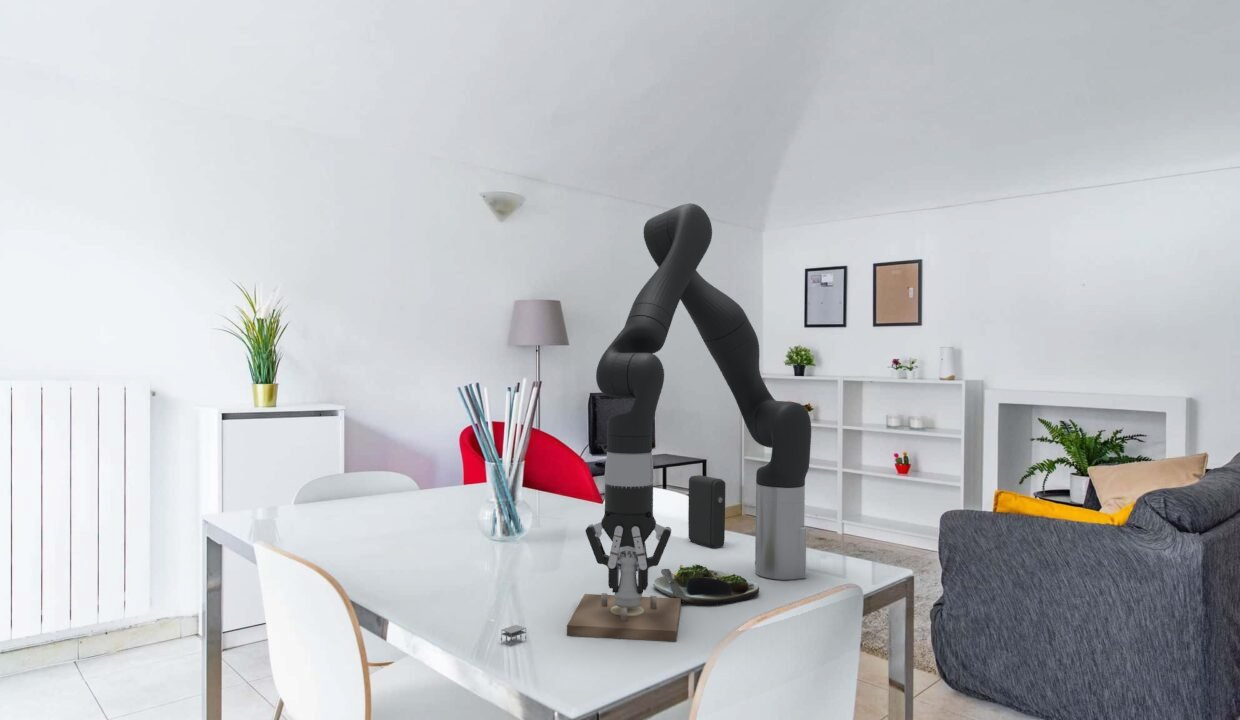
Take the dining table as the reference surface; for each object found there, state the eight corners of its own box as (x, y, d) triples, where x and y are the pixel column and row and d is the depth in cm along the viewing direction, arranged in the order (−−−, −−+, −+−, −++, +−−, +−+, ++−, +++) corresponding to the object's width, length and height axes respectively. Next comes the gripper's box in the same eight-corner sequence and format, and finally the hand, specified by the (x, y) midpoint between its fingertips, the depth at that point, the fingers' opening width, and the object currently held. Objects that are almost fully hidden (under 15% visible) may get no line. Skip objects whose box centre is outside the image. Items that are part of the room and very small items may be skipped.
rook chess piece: (621, 610, 118) (622, 557, 118) (608, 602, 122) (609, 551, 122) (647, 606, 120) (648, 554, 120) (633, 598, 124) (634, 548, 124)
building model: (500, 643, 110) (500, 629, 110) (516, 638, 113) (516, 624, 113) (510, 647, 109) (511, 633, 109) (526, 642, 111) (526, 627, 111)
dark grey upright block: (727, 547, 171) (728, 479, 171) (713, 549, 169) (714, 480, 169) (700, 539, 179) (701, 474, 179) (686, 541, 176) (687, 475, 177)
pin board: (680, 607, 128) (680, 587, 128) (676, 641, 112) (676, 618, 112) (584, 602, 130) (584, 582, 130) (566, 635, 114) (567, 612, 114)
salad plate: (626, 584, 142) (626, 559, 142) (703, 572, 152) (704, 548, 152) (690, 614, 126) (690, 585, 126) (772, 598, 135) (773, 571, 135)
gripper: (675, 478, 124) (674, 587, 124) (588, 476, 125) (586, 583, 125) (673, 485, 116) (672, 601, 116) (580, 483, 118) (579, 596, 118)
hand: (627, 591), depth 121 cm, fingers closed on rook chess piece, 3 cm apart
